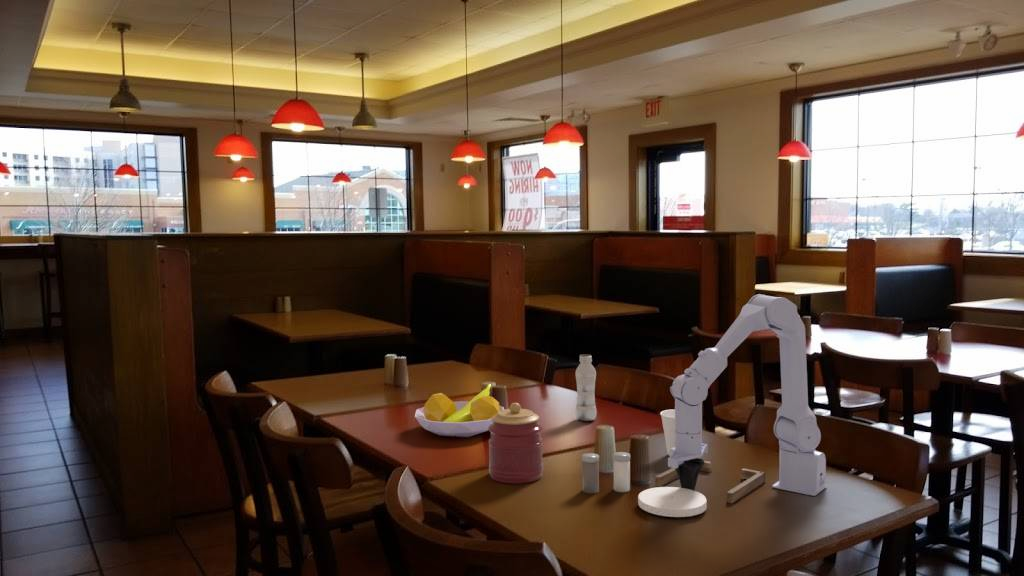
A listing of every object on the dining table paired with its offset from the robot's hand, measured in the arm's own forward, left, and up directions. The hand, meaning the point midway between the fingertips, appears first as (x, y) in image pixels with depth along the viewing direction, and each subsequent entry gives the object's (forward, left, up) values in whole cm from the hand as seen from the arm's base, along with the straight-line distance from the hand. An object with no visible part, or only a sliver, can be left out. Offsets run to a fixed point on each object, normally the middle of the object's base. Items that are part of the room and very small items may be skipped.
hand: (688, 492), depth 170 cm
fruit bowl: (+78, -12, -1) cm, 79 cm away
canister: (+39, +11, -1) cm, 41 cm away
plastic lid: (-1, +8, -2) cm, 8 cm away
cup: (+16, -27, -1) cm, 31 cm away
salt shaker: (+14, +4, -1) cm, 15 cm away
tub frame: (0, -11, -1) cm, 11 cm away
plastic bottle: (+56, -43, -1) cm, 70 cm away
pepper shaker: (+19, +9, -1) cm, 21 cm away
